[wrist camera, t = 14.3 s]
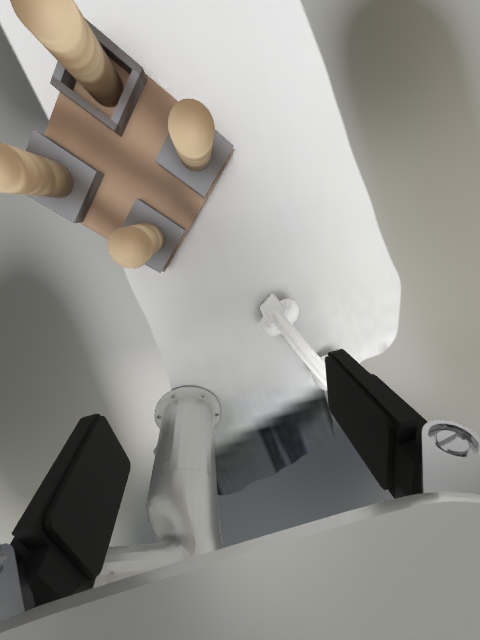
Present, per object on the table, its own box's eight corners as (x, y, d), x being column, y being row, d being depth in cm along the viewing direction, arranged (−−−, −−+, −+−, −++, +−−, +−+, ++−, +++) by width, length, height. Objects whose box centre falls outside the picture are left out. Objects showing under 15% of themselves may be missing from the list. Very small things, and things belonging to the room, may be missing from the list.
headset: (247, 308, 43) (274, 368, 27) (278, 280, 42) (327, 324, 25) (311, 373, 50) (363, 451, 34) (340, 351, 49) (407, 420, 33)
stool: (166, 267, 38) (147, 299, 25) (38, 191, 32) (-81, 177, 19) (232, 154, 33) (252, 116, 20) (96, 41, 27) (-6, -125, 14)
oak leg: (129, 82, 27) (81, -5, 16) (115, 115, 28) (59, 54, 17) (95, 54, 26) (19, -60, 15) (82, 90, 27) (-1, 6, 16)
